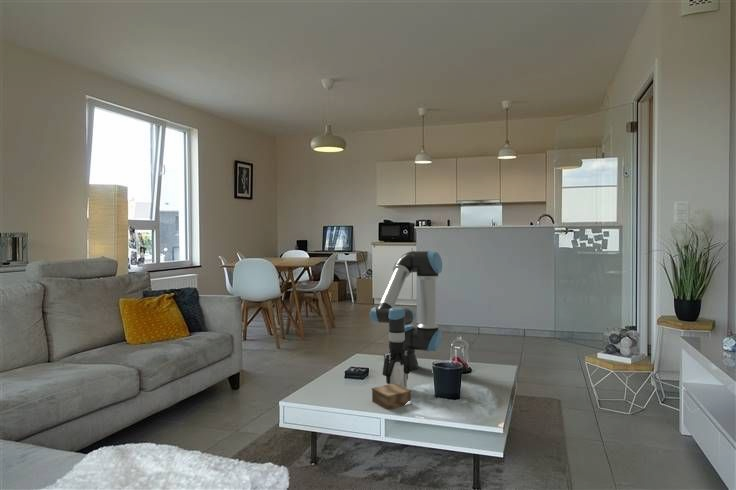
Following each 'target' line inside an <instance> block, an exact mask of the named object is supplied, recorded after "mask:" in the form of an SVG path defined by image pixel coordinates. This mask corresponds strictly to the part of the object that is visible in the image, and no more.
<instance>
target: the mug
mask: <svg viewBox="0 0 736 490" xmlns="http://www.w3.org/2000/svg"><path fill="white" fill-rule="evenodd" d="M391 377H392V384H397V385H399V386H402V387H404V365H401V364H400V362H396V363H395V364H394V367H393V370H392V374H391ZM404 388H405V387H404Z"/></svg>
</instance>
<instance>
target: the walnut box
mask: <svg viewBox="0 0 736 490" xmlns="http://www.w3.org/2000/svg"><path fill="white" fill-rule="evenodd" d="M371 391H372V392H371V395H372V397H371V399H372V400H371V402H372V403H374V404H375V405H378V406H379V407H382V408H384V409H386V410H388V411H389V410H392V409H393V410H394V409H397V408H402V407H405V406H404V405H405V404H406V403H407V402H408V401H410V400H411V401H412V397H411V396H412V395H411V394H412V390H411V389H410V388H407V387H406V388H405V387H402V386H399V385H397V384H389V385H387V384H386V385H381V386H376V387H372V388H371Z"/></svg>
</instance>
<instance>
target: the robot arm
mask: <svg viewBox="0 0 736 490" xmlns="http://www.w3.org/2000/svg"><path fill="white" fill-rule="evenodd" d="M442 260H443V259H442V257H441V255H440V254H439V252H437V251H432V250H431V251H430V250H427V251H425V250H423V251H419V250H418V251H415V250H413V251H409V252H406V253H405V254H403V255H402V256H401V257H399V259H397V261H396V262H395V263H394V265H393V268H392V274H391V277H390V279H389V282H388V283H387V286H386V288H385V290H384V292H383V294H382V296H381V299H380V301H379V303H378V306H374V307H372V308H371V309H370V312H369V319H370V320H371V322H373V323H378V324H388V340H389V341H388V349H389V352H388V353H387V354H383V357H384V359H383V366H382V367H383V368H382V376H384V377H386V378H385V380H386V385H389V384H392V377H391V374H392V370H393V367H394V364H395V363H396V362H400V364H401V365H404V388H407V387H408V382H407V381H408V380H409V374H410V372H412V371H413V370H417V369H418V368H419V362H418V359H417V356H416V350H417V351H422V352H423V351H425V352H432V353H433V352H437V351H438V350H439V349H440V348H441V345H442V340H443V332H442V331H441V330H440V329H439V325H438V324H437V323H436V303H437V302H436V299H437V298H436V289H437V288H436V286H437V285H436V280H437V278H438V277H439V274H441V273H442V270H443V261H442ZM411 273H416V276H417V278H418V279H419V323H418V324H417V325H416V326H415V324H412V323H414V321H415V320H416V313H415V311H414V310H413V309H412V308H403V307H395V305H396V303H397V300H398V297H399V295H400V293H401V290H402V288H403V287H404V284H405V281H406V279H407V278H408V277H409V276H410V274H411Z"/></svg>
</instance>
